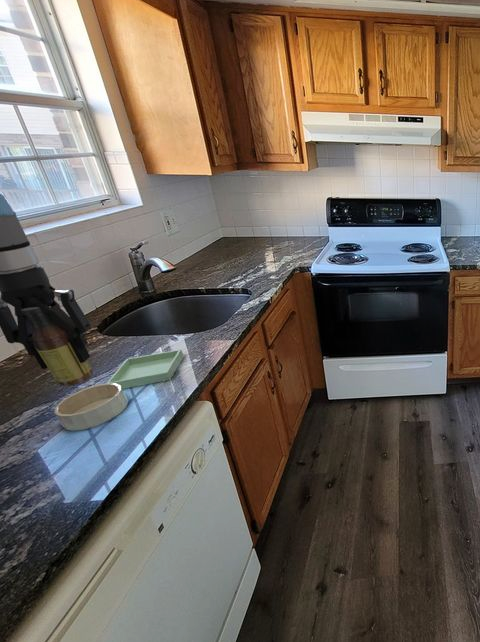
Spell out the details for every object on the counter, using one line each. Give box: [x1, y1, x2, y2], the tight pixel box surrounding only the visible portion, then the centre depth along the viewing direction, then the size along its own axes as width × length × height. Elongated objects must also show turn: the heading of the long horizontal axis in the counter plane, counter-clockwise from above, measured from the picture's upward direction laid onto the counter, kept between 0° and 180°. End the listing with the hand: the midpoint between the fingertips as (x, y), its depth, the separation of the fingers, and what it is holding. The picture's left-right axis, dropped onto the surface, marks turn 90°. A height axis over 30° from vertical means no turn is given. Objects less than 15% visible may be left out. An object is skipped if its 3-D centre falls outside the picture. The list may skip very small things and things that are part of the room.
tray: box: [106, 348, 185, 390], centre depth 106 cm, size 14×13×2 cm
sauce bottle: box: [21, 306, 94, 387], centre depth 83 cm, size 7×6×20 cm
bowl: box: [54, 382, 129, 432], centre depth 90 cm, size 12×12×4 cm
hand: (66, 362), depth 85 cm, fingers closed on sauce bottle, 6 cm apart
